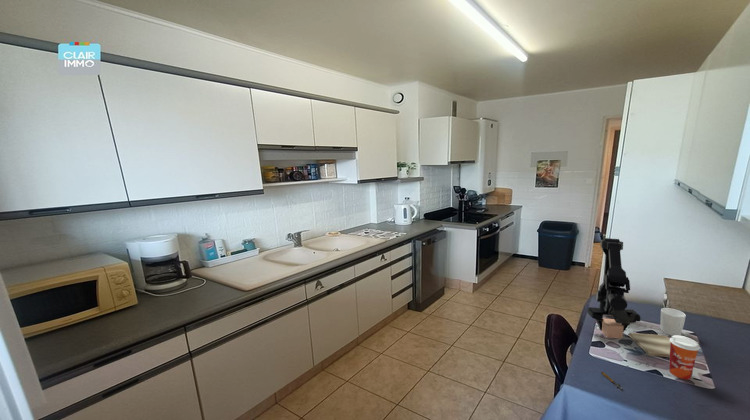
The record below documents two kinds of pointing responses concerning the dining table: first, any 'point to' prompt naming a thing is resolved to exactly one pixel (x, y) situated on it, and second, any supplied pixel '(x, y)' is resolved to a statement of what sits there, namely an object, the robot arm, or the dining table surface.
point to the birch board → (653, 344)
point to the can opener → (611, 380)
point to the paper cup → (682, 356)
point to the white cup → (672, 321)
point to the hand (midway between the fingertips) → (611, 330)
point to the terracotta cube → (612, 328)
